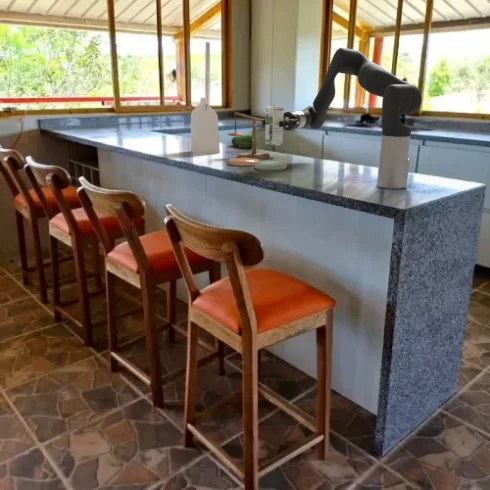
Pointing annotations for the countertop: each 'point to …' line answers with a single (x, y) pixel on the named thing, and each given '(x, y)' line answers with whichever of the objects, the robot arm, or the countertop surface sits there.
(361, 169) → the countertop surface
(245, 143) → the vegetable
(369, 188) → the countertop surface
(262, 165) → the sage dish
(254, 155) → the balance
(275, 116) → the syrup box
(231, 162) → the terracotta dish
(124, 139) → the countertop surface
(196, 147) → the milk
